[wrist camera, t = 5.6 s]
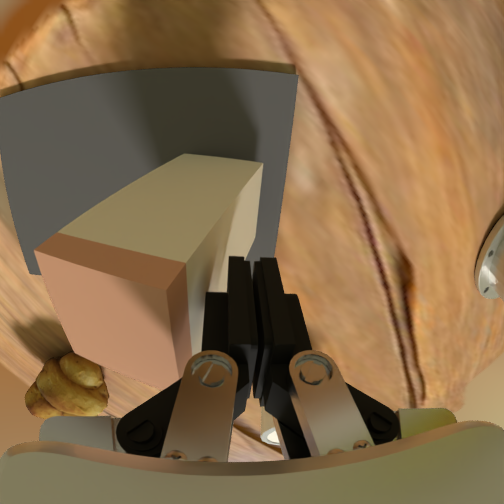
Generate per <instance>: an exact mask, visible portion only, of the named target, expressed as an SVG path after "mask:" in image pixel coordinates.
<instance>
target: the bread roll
mask: <svg viewBox="0 0 504 504" xmlns="http://www.w3.org/2000/svg"><path fill="white" fill-rule="evenodd" d="M108 398H109V393H108V390H107V386H106V384H105V381H104V379H103V375H102V372H101V369H100V367H99V365H98V364H97V363H95V362H92V361H90V360H88V359H86V358H84V357H82V356H80V355H78V354H76V353H75V352H70V353H67V354H66V355H65V356H63V357H62V358H52V359H50V360H48V361H47V362H46V363H45V365H44V367H43V369H42V371H41V372H40V373H39V375H38V376H37V378H36V381H35V382H34V383H33V384H32V386H31V387H30V388H29V390H28V391H27V393H26V395H25V403H26V406H27V408H28V410H29V411H30V413H31V414H32V415H34V416H36V417H40V418H43V419H48V418H50V417H54V416H98V414H100V413H101V412H102V411H103V410H104V409H105V408H106V407H107V403H108Z"/></svg>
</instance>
